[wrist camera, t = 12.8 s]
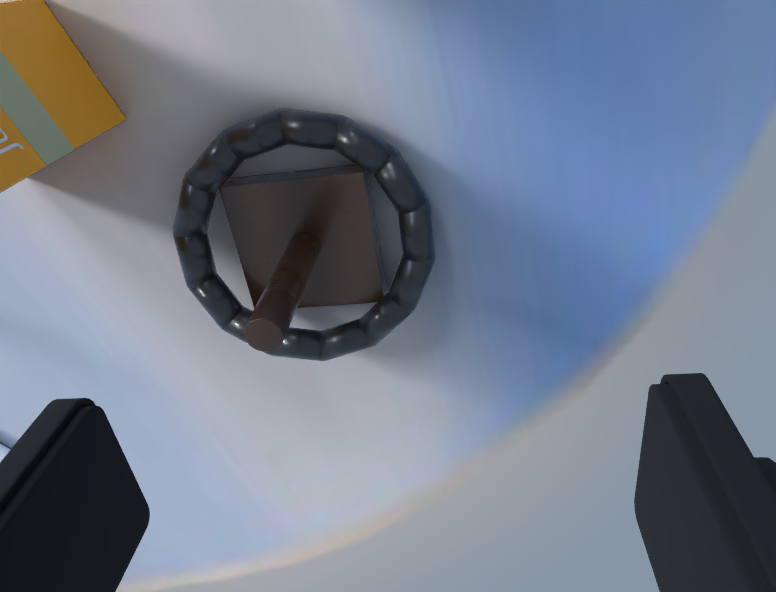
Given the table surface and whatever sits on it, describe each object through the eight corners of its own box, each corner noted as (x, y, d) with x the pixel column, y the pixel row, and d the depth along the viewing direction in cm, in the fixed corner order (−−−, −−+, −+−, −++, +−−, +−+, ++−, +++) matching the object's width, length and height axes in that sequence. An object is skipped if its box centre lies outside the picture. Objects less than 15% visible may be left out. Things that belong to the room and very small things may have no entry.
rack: (260, 300, 43) (204, 409, 33) (226, 178, 38) (148, 263, 29) (386, 290, 42) (366, 401, 32) (366, 163, 37) (335, 247, 27)
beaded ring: (214, 362, 42) (205, 377, 41) (152, 122, 36) (138, 127, 34) (442, 341, 41) (444, 355, 40) (419, 90, 35) (420, 93, 33)
